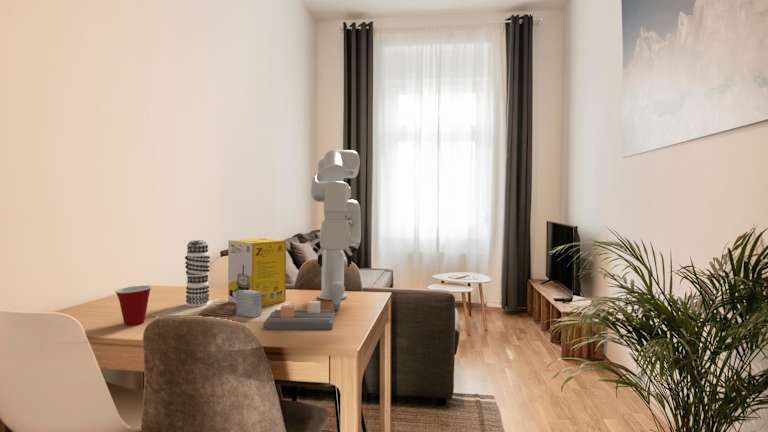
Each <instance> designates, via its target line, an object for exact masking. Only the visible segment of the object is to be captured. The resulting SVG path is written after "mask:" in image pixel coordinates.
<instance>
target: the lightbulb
mask: <svg viewBox="0 0 768 432" xmlns="http://www.w3.org/2000/svg"><path fill="white" fill-rule="evenodd" d="M345 291H346V288H345V285H343V284H342V283H341V282H338V281H335V282H333V283H331V284H330V286H329V293H330V295H331V297H332V300H331V301H332V302H331V303H332V308H333V309H334V310H335V311H338V310H340V308H341V303H342V299H341V298H342V296H343V294H344V293H346V292H345ZM333 309H332V310H333Z"/></svg>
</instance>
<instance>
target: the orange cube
mask: <svg viewBox="0 0 768 432" xmlns="http://www.w3.org/2000/svg"><path fill="white" fill-rule="evenodd" d="M280 310H281V318H294V310H295V305H286V304H285V305H283V304H282V305H281V306H280Z"/></svg>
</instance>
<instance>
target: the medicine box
mask: <svg viewBox="0 0 768 432" xmlns="http://www.w3.org/2000/svg"><path fill="white" fill-rule="evenodd" d="M235 306H236V307H235V308H236V310H235V314H236V316H239V315H240V316H241V317H246V316H247V317H248V318H253V317H254V318H256V316H257V317H259V315H260V316H261V315H262V306H261V292H260V291H252V290H241V291H238V292H236V304H235Z"/></svg>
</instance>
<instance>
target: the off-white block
mask: <svg viewBox="0 0 768 432" xmlns="http://www.w3.org/2000/svg"><path fill="white" fill-rule="evenodd" d="M307 310H308V313H320V310H321V300H308V302H307Z"/></svg>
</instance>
